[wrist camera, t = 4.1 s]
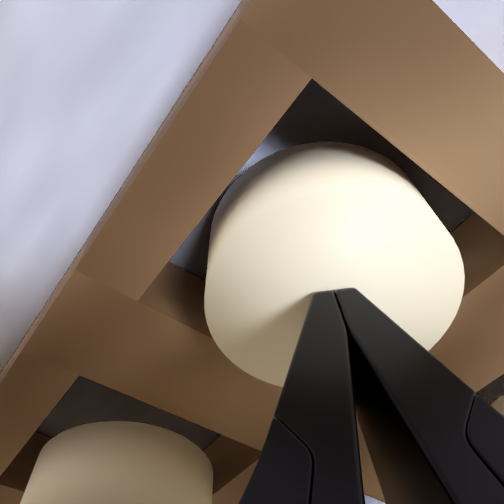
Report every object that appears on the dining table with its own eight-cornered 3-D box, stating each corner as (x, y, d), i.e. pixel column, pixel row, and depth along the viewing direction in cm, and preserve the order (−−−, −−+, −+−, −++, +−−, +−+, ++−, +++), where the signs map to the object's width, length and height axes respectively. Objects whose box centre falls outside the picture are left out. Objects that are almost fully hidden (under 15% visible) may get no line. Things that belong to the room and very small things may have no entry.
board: (742, 334, 14) (827, 400, 12) (270, 599, 25) (273, 659, 23) (306, -100, 8) (330, -115, 6) (-84, 502, 18) (-124, 573, 16)
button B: (470, 223, 11) (518, 282, 9) (324, 349, 13) (339, 418, 11) (304, 91, 9) (323, 130, 7) (168, 264, 11) (155, 329, 9)
